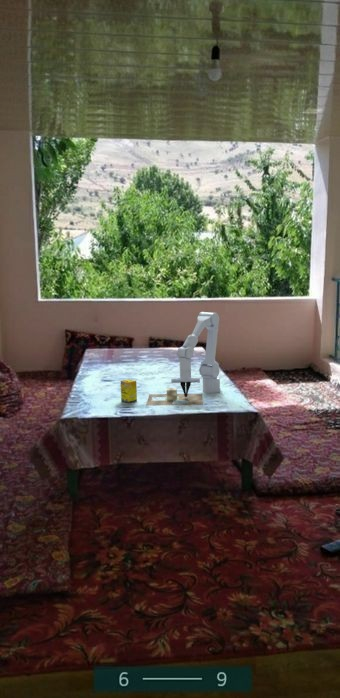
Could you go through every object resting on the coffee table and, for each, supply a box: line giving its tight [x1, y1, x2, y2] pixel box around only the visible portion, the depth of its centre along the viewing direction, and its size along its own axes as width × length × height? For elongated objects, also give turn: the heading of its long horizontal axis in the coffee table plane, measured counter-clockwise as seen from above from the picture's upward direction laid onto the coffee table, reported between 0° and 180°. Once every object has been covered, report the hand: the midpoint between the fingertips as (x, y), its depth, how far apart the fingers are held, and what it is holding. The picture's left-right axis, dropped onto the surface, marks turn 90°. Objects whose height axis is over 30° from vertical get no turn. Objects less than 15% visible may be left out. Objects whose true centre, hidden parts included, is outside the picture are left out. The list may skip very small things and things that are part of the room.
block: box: [166, 387, 178, 401], centre depth 268 cm, size 5×5×5 cm
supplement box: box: [120, 378, 138, 404], centre depth 270 cm, size 6×6×11 cm
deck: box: [145, 393, 204, 406], centre depth 267 cm, size 28×22×2 cm
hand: (185, 396), depth 268 cm, fingers closed
